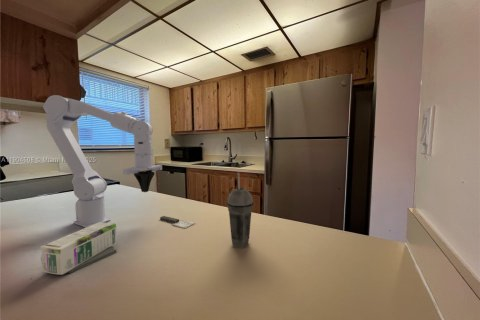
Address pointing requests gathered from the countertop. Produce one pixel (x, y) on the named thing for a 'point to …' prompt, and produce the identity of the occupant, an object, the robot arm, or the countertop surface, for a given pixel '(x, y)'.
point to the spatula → (178, 222)
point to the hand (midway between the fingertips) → (145, 191)
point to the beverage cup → (240, 215)
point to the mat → (95, 258)
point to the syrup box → (77, 247)
